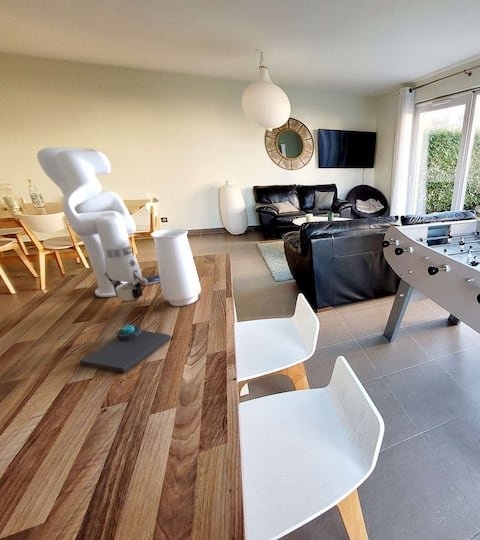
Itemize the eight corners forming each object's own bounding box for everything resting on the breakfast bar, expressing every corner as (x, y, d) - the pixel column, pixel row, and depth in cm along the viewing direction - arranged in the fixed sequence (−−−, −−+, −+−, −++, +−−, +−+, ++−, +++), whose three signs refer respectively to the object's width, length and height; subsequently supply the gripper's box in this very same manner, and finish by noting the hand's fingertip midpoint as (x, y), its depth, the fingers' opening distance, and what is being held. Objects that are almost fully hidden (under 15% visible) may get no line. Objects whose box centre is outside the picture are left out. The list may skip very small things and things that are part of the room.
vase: (207, 293, 121) (196, 229, 111) (192, 308, 109) (178, 238, 99) (176, 292, 121) (162, 227, 110) (157, 307, 109) (139, 236, 98)
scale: (131, 332, 94) (129, 324, 93) (170, 338, 92) (168, 330, 91) (79, 364, 80) (76, 355, 78) (124, 372, 78) (121, 363, 76)
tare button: (129, 328, 92) (127, 324, 91) (137, 329, 91) (136, 325, 91) (120, 333, 89) (119, 329, 88) (128, 335, 88) (127, 330, 88)
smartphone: (139, 278, 130) (177, 271, 139) (139, 279, 130) (177, 272, 140) (142, 284, 125) (181, 276, 134) (143, 285, 125) (181, 277, 135)
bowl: (130, 291, 112) (127, 281, 110) (145, 294, 111) (143, 283, 109) (113, 299, 106) (110, 288, 104) (129, 302, 105) (126, 292, 103)
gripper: (148, 251, 103) (158, 294, 110) (106, 244, 105) (118, 287, 112) (129, 258, 96) (141, 304, 103) (85, 251, 98) (99, 296, 106)
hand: (129, 295), depth 108 cm, fingers closed on bowl, 6 cm apart
